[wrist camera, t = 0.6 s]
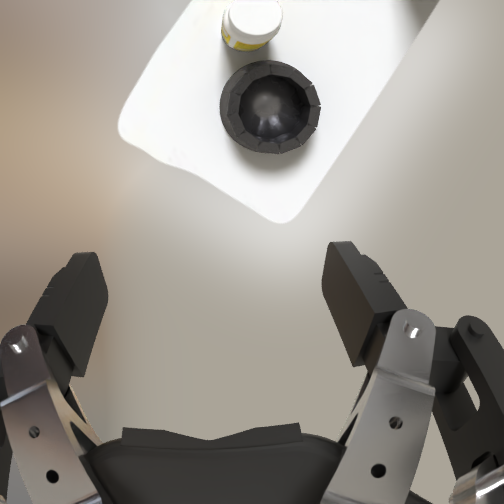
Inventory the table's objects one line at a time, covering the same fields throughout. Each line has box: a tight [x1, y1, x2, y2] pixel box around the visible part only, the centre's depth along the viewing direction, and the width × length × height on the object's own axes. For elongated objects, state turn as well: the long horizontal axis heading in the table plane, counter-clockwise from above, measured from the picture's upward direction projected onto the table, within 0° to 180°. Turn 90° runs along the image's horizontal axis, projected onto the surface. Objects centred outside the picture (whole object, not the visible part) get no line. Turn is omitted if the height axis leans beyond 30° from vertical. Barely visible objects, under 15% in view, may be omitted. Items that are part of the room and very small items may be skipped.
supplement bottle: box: [221, 0, 283, 52], centre depth 20 cm, size 5×5×8 cm
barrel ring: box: [220, 60, 321, 154], centre depth 27 cm, size 10×10×3 cm
